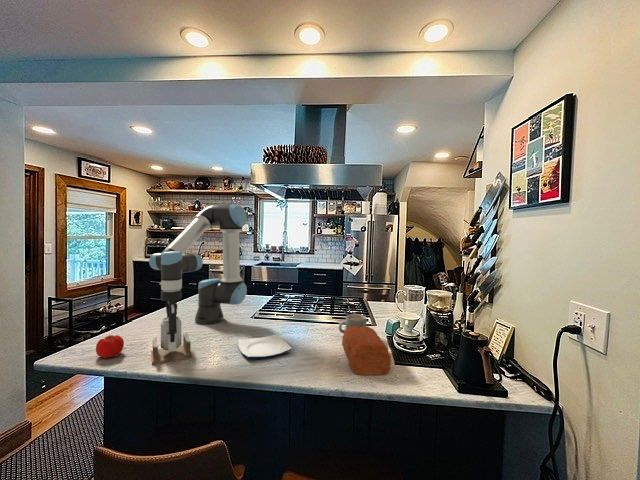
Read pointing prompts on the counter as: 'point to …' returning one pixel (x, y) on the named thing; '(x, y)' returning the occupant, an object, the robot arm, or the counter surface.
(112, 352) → the tomato
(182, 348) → the cradle holder
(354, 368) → the bread
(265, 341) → the plate
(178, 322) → the can
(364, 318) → the coffee mug
